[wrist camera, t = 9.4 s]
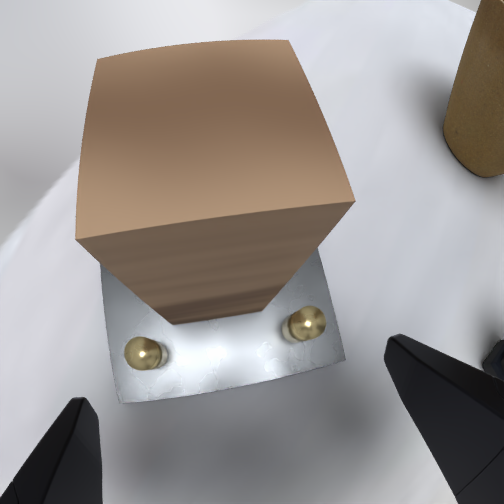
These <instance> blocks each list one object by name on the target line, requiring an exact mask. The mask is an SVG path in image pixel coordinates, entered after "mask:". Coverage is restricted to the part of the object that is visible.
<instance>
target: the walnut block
mask: <svg viewBox="0 0 504 504" xmlns="http://www.w3.org/2000/svg"><path fill="white" fill-rule="evenodd" d="M354 202H355V198H354V195H353V192H352V189H351V186H350V184H349V181H348V178H347V175H346V172H345V170H344V167H343V164H342V162H341V159H340V156H339V154H338V151H337V148H336V146H335V143H334V141H333V138H332V136H331V133H330V131H329V128H328V126H327V123H326V121H325V118H324V116H323V114H322V111H321V109H320V107H319V104H318V102H317V100H316V97H315V95H314V93H313V91H312V88H311V86H310V84H309V82H308V80H307V77H306V75H305V73H304V71H303V69H302V67H301V65H300V63H299V61H298V58H297V56H296V54H295V52H294V50H293V48H292V46H291V44H290V42H289V40H230V41H213V42H201V43H191V44H181V45H173V46H165V47H159V48H152V49H146V50H140V51H134V52H129V53H124V54H119V55H114V56H109V57H105V58H101V59H97V63H96V67H95V71H94V76H93V81H92V86H91V91H90V96H89V101H88V107H87V113H86V119H85V125H84V133H83V139H82V147H81V156H80V165H79V176H78V189H77V205H76V233H75V240H76V241H77V242H78V243H80V244H81V245H82V246H83V247H84V248H85V249H86V250H87V251H88V252H89V253H90V254H91V255H92V256H93V257H94V258H95V259H96V260H97V261H99V262H100V263H101V264H102V265H103V266H104V267H105V268H106V269H107V270H108V271H109V272H111V273H112V274H113V275H114V276H115V277H116V278H117V279H118V280H119V281H121V282H122V283H123V284H124V285H125V286H126V287H127V288H129V289H130V290H131V291H132V292H133V293H134V294H135V295H137V296H138V297H139V298H140V299H141V300H142V301H144V302H145V303H146V304H147V305H148V306H150V307H151V308H152V309H153V310H154V311H156V312H157V313H158V314H159V315H160V316H162V317H163V318H164V319H165V320H167V321H168V322H169V323H170V324H172V325H178V324H186V323H192V322H199V321H206V320H212V319H219V318H225V317H231V316H237V315H243V314H249V313H255V312H260V311H263V310H264V309H265V307H266V306H267V305H268V304H269V303H270V302H271V301H272V299H273V298H274V297H275V296H276V295H277V294H278V293H279V291H280V290H281V289H282V288H283V287H284V286H285V285H286V283H287V282H288V281H289V280H290V279H291V278H292V277H293V275H294V274H295V273H296V272H297V271H298V270H299V268H300V267H301V266H302V265H303V264H304V263H305V261H306V260H307V259H308V258H309V257H310V255H311V254H312V253H313V252H314V251H315V250H316V248H317V247H318V246H319V245H320V244H321V242H322V241H323V240H324V239H325V238H326V236H327V235H328V234H329V233H330V232H331V230H332V229H333V228H334V227H335V226H336V224H337V223H338V222H339V221H340V219H341V218H342V217H343V216H344V215H345V213H346V212H347V211H348V210H349V208H350V207H351V206H352V205H353V204H354Z"/></svg>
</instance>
